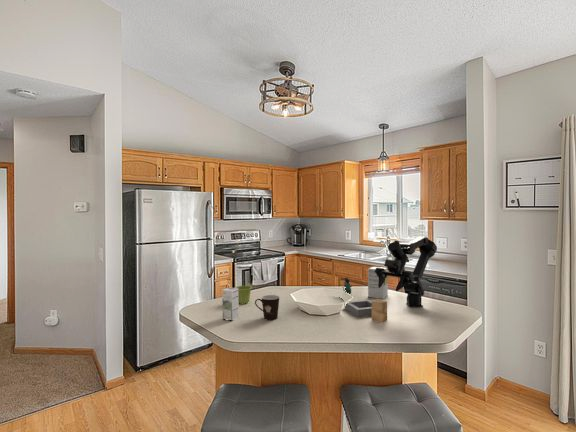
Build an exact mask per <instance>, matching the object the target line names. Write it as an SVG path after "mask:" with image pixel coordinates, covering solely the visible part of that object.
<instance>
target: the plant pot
mask: <svg viewBox="0 0 576 432" xmlns="http://www.w3.org/2000/svg"><path fill="white" fill-rule="evenodd" d="M234 288H238V302H239V303H246V304H247V303H248V302H249V303H250V298H251V291H252V289H253V287H252V286H251V285H240V286H235V287H234ZM249 303H248V304H249Z"/></svg>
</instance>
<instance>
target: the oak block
mask: <svg viewBox="0 0 576 432" xmlns="http://www.w3.org/2000/svg"><path fill="white" fill-rule="evenodd" d="M371 301H372V315H371V321H373V322H376V323H379V324H383V323H385V322H387V321H388V301H387V300H384V299H380V298H375V299H374V300H371Z"/></svg>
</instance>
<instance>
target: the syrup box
mask: <svg viewBox="0 0 576 432" xmlns="http://www.w3.org/2000/svg"><path fill="white" fill-rule="evenodd" d="M221 294H222V295H221V296H222V320H223V319H228V320H234V319H236V318H238V317H240V312H239V310H240V308H239V307H240V306H239V302H238V288H235V287H226V288H224V289H223V288H222V289H221ZM238 319H239V318H238ZM228 320H227V321H228ZM236 320H237V319H236ZM234 321H235V320H234Z"/></svg>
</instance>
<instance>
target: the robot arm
mask: <svg viewBox="0 0 576 432" xmlns="http://www.w3.org/2000/svg"><path fill="white" fill-rule="evenodd" d="M387 249H388V251H389V252H390V255H392V257H393V258H394V259H386V258H385V260H384V261H385V262H384V268H387V269H388V272H387V271H385V270H384V268H376V269H375V273H376V274H377V276H378V277H379V283H378V287H379V288H380V287H381V286H382V285H383V283H384V282H385V280H386V279H385V278H386V277H387V276H388V277H392V278H393V277H394V278H399V280H398V283H397V284H396V288H395V292H399V291H400V290H402V288H403V289H404V294H407V296H406V303H405V304H406V305H408V307H411V308H422V307H424V305H422V297H423V296H424V295H425V289H424V287H423V283H422V278H423V275H424V273H425V270H426V268H427V265H428V263H429V261H430V259H431V258H432V257H434V256H435V254H436V252H437V250H438V246H437V244H436V243H435V242H434V241H433V240H430V239H429V238H428V236H417V237H416V238H414V239H412V240H410V241H407V242H400V241H399V240H394V241H392V242H390V243H389V244H388V246H387ZM417 249H419V250H418V251H419V253H420V255H419V257H418V260H417V262H416V264H415V267H414V269H413V271H412V272H411V271H407V270H406V268H405V267H406V264H407V263H410V260H409V256H411V255H413V254H415V253H416V250H417Z"/></svg>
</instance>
